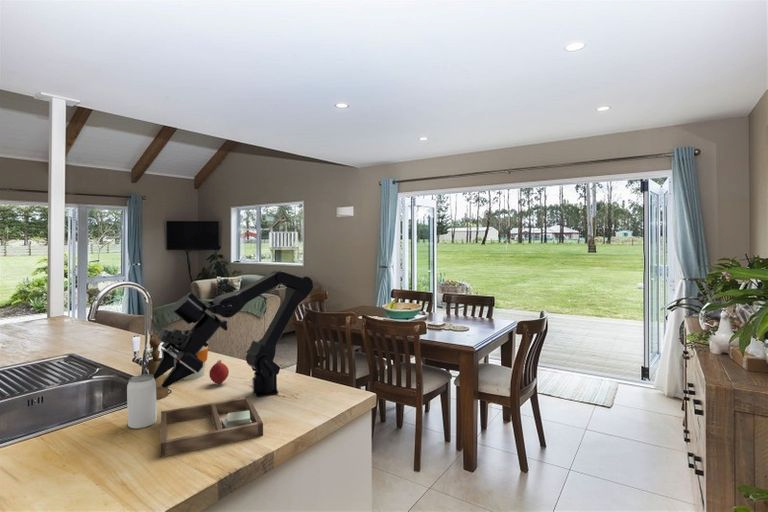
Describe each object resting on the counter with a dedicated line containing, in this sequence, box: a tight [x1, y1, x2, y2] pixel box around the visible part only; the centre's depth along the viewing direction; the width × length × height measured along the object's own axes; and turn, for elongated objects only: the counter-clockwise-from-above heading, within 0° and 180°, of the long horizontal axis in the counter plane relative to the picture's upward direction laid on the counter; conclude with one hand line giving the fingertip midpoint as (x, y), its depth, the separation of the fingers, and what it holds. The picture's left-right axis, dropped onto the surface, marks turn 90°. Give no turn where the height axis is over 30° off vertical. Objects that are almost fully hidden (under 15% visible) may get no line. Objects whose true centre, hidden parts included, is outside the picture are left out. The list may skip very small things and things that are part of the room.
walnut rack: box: [159, 396, 264, 458], centre depth 106 cm, size 22×19×3 cm
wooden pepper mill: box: [147, 336, 169, 400], centre depth 127 cm, size 7×6×18 cm
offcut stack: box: [220, 410, 252, 429], centre depth 104 cm, size 7×6×4 cm
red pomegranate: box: [208, 359, 229, 385], centre depth 137 cm, size 6×6×8 cm
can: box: [126, 373, 158, 430], centre depth 108 cm, size 6×6×12 cm
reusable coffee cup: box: [176, 328, 209, 381], centre depth 146 cm, size 13×13×15 cm
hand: (158, 382), depth 110 cm, fingers open, 9 cm apart
